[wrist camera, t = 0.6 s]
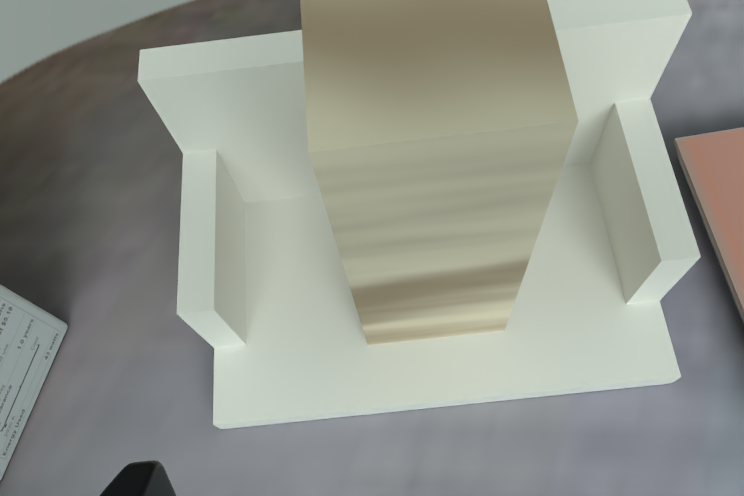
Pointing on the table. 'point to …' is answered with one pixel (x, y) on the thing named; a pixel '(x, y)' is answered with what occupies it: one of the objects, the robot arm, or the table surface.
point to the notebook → (719, 197)
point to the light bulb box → (22, 363)
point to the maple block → (435, 153)
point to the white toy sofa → (325, 268)
